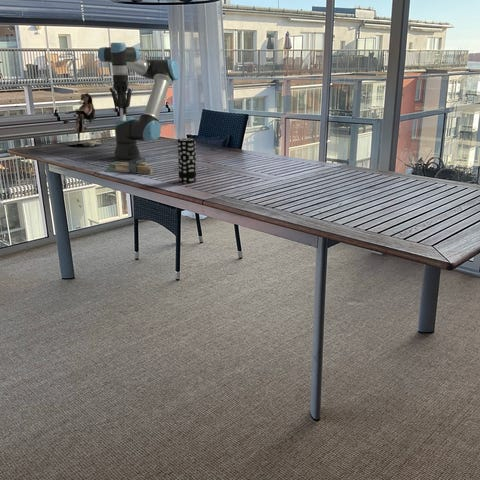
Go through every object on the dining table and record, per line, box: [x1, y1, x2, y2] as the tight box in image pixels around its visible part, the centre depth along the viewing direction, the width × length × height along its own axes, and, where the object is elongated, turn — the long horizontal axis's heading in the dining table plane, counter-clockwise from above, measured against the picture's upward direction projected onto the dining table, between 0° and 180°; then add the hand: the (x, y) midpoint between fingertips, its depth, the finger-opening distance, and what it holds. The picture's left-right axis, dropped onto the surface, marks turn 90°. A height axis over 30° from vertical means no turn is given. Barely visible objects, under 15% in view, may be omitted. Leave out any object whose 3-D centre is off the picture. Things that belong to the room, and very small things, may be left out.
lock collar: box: [128, 157, 146, 174], centre depth 268 cm, size 10×4×6 cm, turn 161°
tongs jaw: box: [112, 161, 148, 166], centre depth 271 cm, size 4×20×4 cm, turn 69°
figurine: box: [62, 92, 104, 148], centre depth 348 cm, size 25×24×35 cm
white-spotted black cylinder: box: [177, 137, 197, 184], centre depth 244 cm, size 8×8×20 cm
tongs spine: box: [108, 162, 153, 175], centre depth 268 cm, size 5×24×4 cm, turn 71°
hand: (123, 120), depth 276 cm, fingers closed
